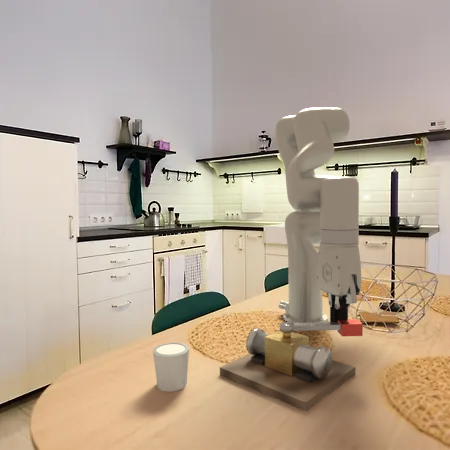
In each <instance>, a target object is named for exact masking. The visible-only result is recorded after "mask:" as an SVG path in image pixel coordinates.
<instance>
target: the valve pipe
mask: <svg viewBox="0 0 450 450" xmlns="http://www.w3.org/2000/svg"><path fill="white" fill-rule="evenodd" d="M245 345H246V350H247V351H246V352H248V354H251V355H254V356H252V357H251V362H253V363H256V364H259V365H261V366H263V365H265V367H268V368H271V369H273V370H276V371H279V372H282V373H284V374H287V375H290V376H293V375H295V374H296V378H297V379H300V380H302V381H305V382H308V383H311V382H313V381H315V380H316V379H318V378H320V379H324V378H325V377H326V376H327V375H328V373H329V371H330V368H331V364H332V360H333V355H332V351H331V350H330V348H329V347H326V346H319V347H313V346H310V336H308V335H305V334H300V333H297V332H295V331H294V332H291V333H284V332H281V331H280V330H278V331H276V332H273V333H271V334H268V333H266V331H265V330H264V329H262V328H258V327H256V328H253V329H251V331H250V332H249V334H248V335H247V337H246V343H245Z"/></svg>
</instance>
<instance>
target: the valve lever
mask: <svg viewBox="0 0 450 450" xmlns="http://www.w3.org/2000/svg"><path fill="white" fill-rule="evenodd" d="M363 325H364V324H363V323H362V322H361V321H360V320H359V319H357V318H353V319H351V318H350V319H349V318H348V319H340V320H337V322H330V321H328V322H311V323H290V322H286V321H284V322H283V321H282V322H280V323H279V331H281V332H284V333H291V332H294V333H295V332H300V331H301V332H302V331H303V332H304V331H305V332H307V331H337V333H338V334H339V335H340V336H341V337H363V328H364V327H363Z"/></svg>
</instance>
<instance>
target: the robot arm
mask: <svg viewBox="0 0 450 450" xmlns="http://www.w3.org/2000/svg"><path fill="white" fill-rule="evenodd" d="M350 123H351V122H350V119H349V115H348V114H347V112H346V111H345V110H344V109H343V108H340V107H309V108H304V109H302V110H299V111H298V112H297V113H296V114H295V115H288V116H283V117H282V118H280V119H279V120H278V121H277V123H276V125H275V133H274V134H275V142H276V146H277V150H278V153H279V156H280V158H281V160H282V162H283V165H284V173H285V175H284V176H285V184H286V195H287V199H288V203H289V205H290V206H291V207H292V209H294V210H295V211H292V212H290V213H289V214H287V216H286V218H285V221H284V231H285V237H286V243H287V255H288V257H287V259H288V261H287V262H288V265H287V266H288V271H287V272H288V301H285V300H280V303H279V304H278V309H280V310H285V313H284V314H283V315H282V316H283V317H282V318H284V319H283V321H284V320H285V321H284V322H286V321H287V322H290V323H311V322H337V320H340V319H349V308H350V307H351V305H353V304H357V303H358V298H357V296H359V295H360V294H361V291H362V266H361V265H362V264H361V263H362V262H361V255H360V249H359V239H360V238H359V237H360V235H359V233H360V232H359V221H360V220H359V216H360V215H359V213H360V210H359V209H360V208H359V207H360V206H359V203H360V187H359V186H360V184H359V181H358V179H357V178H356V177H354V176H335V175H332V174H331V175H329V174H327V175H326V174H322V175H321V174H319V175H318V174H316V173H315V170H316V169H319V168H321V167H323V166H324V165H327V164H328V162H329V161H331V159H332V158H333V156H334V154H335V146H334V144H335V143H339V142H342V141H344V140H345V139H346V138H347V136H348V134H349V132H350V126H351V125H350ZM314 245H319V246H318V250H316V249H315V246H314ZM323 292H324V293H325V294H326V295H327V299H328V306H329V317H328V315H327V314H325V313H324V312H323Z"/></svg>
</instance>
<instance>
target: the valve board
mask: <svg viewBox="0 0 450 450" xmlns="http://www.w3.org/2000/svg"><path fill="white" fill-rule="evenodd" d="M252 356H254V355H251V354H249V353H248V354H246V355H244V356H242V357H239V358H236V359H235V360H232V361H230V362H228V363H225V364H223V365H221V366H219V375H220V376H222V377H225V378H227V379H229V380H232V381H234V382H237V383H239V384H241V385H243V386H246V387H248V388H251V389H253V390H255V391H258V392H260V393H262V394H264V395H267V396H269V397H271V398H273V399H276V400H278V401H280V402H283V403H285V404H288V405H290V406H293V407H294V408H297V409H299V410H302V411H304V412H307V411H309V410H310V409H311V408H312V407H314V406H316V405H317V404H318V403H319V402H321V401H322V400H323V399H324V398H326V397H327V396H329V395H330V394H332V393H333V392H334V391H335V390H337V389H338V388H340V386H342V385H343V384H345V383H346V382H347V381H348V380H350V379H351V378H353V377H354V376H355V375H356V366H352V365H349V364H346V363H343V362H340V361H337V360H333V359H332V364H331V368H330V371H329V373H328V375H327V376H326V377H325V378H324V379H320V378H318V379H316V380H315V381H313V382H311V383H308V382H305V381H302V380H300V379H297V378H296V374H295V375H293V376H290V375H287V374H284V373H282V372H279V371H276V370H273V369H271V368H268V367H265V365H263V366H261V365H259V364H256V363H253V362H251V357H252Z"/></svg>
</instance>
